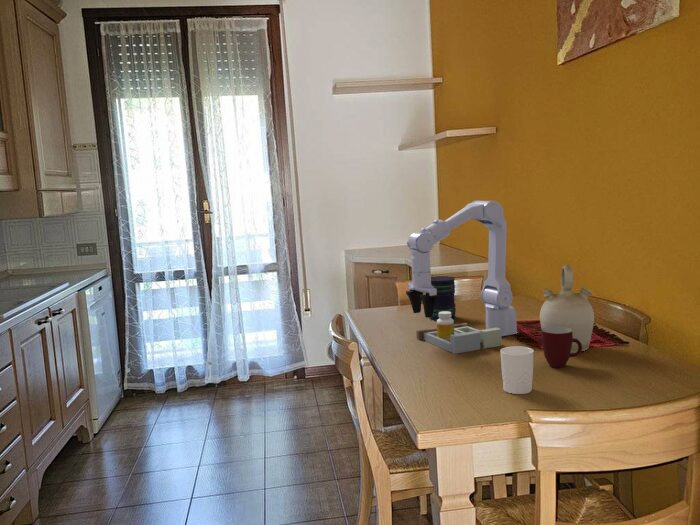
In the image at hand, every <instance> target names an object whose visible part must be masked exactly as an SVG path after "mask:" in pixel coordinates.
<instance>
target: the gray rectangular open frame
mask: <svg viewBox="0 0 700 525" xmlns="http://www.w3.org/2000/svg"><path fill="white" fill-rule="evenodd" d="M424 340H425V341H424ZM423 341H424V342H426V343H429V342H430V343H429V344H431V343H432V345H433V344H434V346H436V347H438V346H439V347H438V348H440V347H441V349H443V350H445V351H448V352H450V353H453V354H455V355H456V354H457V355H458V354H461V353H468V352H473V351H478V350H481V349H480V332H477V331H472V332H466V333H460V334H459V333H456V332H454V335H450V342H449V341H446V340H444V339H441V338H439V337H437V331H435V332H428V333H424V339H423Z"/></svg>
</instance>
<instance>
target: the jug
mask: <svg viewBox="0 0 700 525" xmlns="http://www.w3.org/2000/svg"><path fill="white" fill-rule="evenodd" d="M573 284H574V270H573V267H572V265H570V264H564V265H563V266H562V267H561V271H560V287H561V289H560V290H559V292H557V293H554V292H553V291H552V290H549V289H548V288H543V289H542V292H543V298H545V299H546V300H545V301H544V302H543V304H542V305H541V308H540V311H539V323H540V328H541V330H542V329H543V328H546V327H566V328H570V329H572V332H573V338H575V339H578V340H579V341H580V342H581V344H582V351H584V352H586V351H585V350H587V349H588V350H589V347H590V343H591V340H592V333H593V329H594V324H595V313H594V309H593V307H592V305H591V303H590V301H589V300H588V298H589V297H590V296H592V295H593V294H594V292H593V291H591V290H590V289H588V288H586V287H585V286H580V291H579V292H573V290H572V289H573V286H574V285H573ZM588 350H587V351H588ZM577 351H578V345H577V343H575V342H573V343H572V347H571V352H570V354H574V353H576V352H577Z"/></svg>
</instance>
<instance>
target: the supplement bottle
mask: <svg viewBox="0 0 700 525" xmlns="http://www.w3.org/2000/svg"><path fill="white" fill-rule="evenodd" d="M454 325H455V319H454V320H453V319H451V312H449V311H442V312H439V319H438V320H437V321H436V327H437V337H439V338H441V339H444V340H446V341H449V342H450V335H454Z"/></svg>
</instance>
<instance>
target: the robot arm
mask: <svg viewBox="0 0 700 525" xmlns="http://www.w3.org/2000/svg"><path fill="white" fill-rule="evenodd" d="M469 220H474V221H477V222H479V223H481V224H482V225H484V226H485V227H486V228H487V229H488V259H487V260H488V262H487V264H488V266H487V278H486V279H485V280H484V282H483V287H482V290H481V291H480V298H481V301H482V303H483V304H484V307H485V329H491V328H499V329H501V337H504V336H505V337H507V336H511V335H518V334H519V331H518V330H517V328H518V326H517V312H516V309H515V308H514V307H513V305H511V304H513V300H514V299H513V298H514V296H513V293H512V290H511V286H512V285H511V284H510V282H509V281H508V280H507V279H506V263H507V262H506V260H507V230H508V229H507V226H508V225H507V221H506V218H505V215H504V207H503V206H502V205H501V204H500V203H499V202H498V201H497V200H478V199H477V200H473V201H472V202H471V203H467V204H466V205H465V206H464V207H463V208H462V209H460V210H459V211H456V212H455V213H454V214H453V215H452V216H450V217H448V218H447V219H445V220H443V219H435V220H432V224H430V225H428V226H427V227H422V228H421V229H420V231H418V232H413V233H411V234H410V235H409V237H408V240H407V242H406V245H407V247H408V250H410V257H411V279H412V280H411V281H412V282H408V283H407V286H408V287H407V289H408V290H406V291H405V294H406V296H407V297H408V299H409V302H410V304H411V308H412V312H413V314H419V313H420V314H421V311H422V306H423V312H424V313H423V314H424V316H425V318H426V319H429V317H432V316H433V312H434V307H435V304H436V301H437V299H438V298H439V295H438V294H437V293H436V288H434V287H433V286H432V285H431V277H432V274H431V272H432V271H431V270H432V269H431V250H432V249H433V248H434V245H436V244H438V243H439V242H441V241H442V240H444V239H446V238H447V237H449V236H450V234H451V230H453V229H455V228H457V227H459V226H460V225H462V224H464V223H466V222H469ZM517 333H518V334H517Z"/></svg>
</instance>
